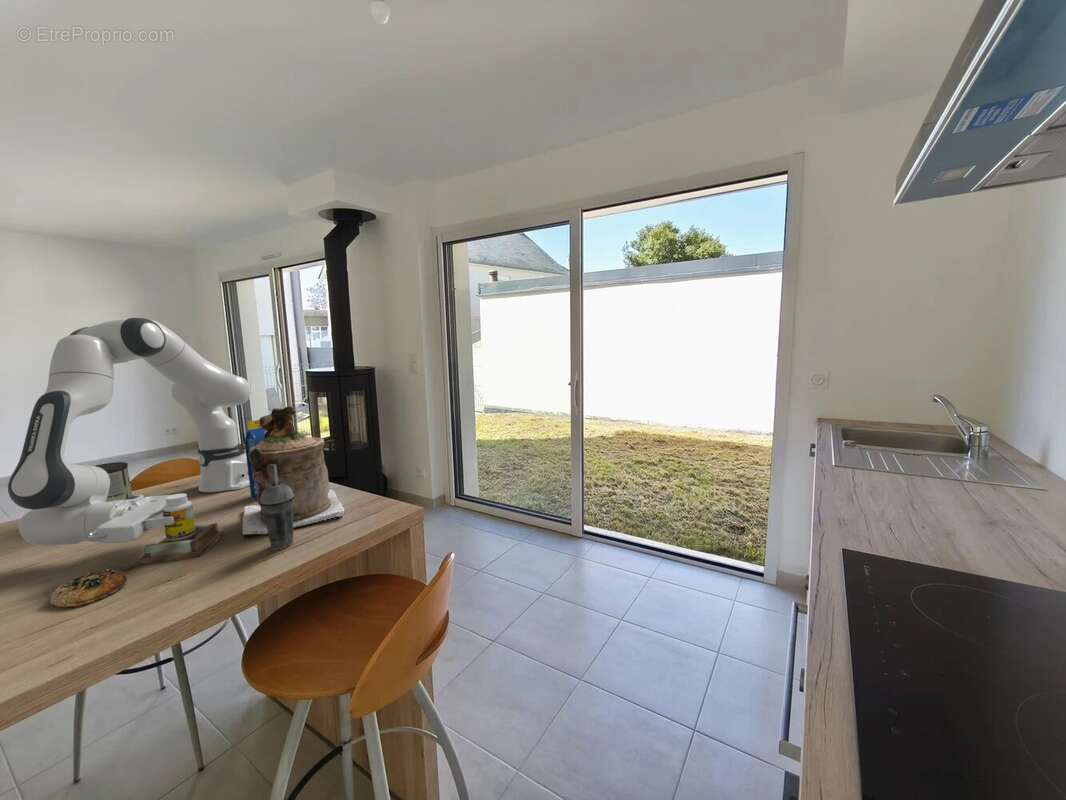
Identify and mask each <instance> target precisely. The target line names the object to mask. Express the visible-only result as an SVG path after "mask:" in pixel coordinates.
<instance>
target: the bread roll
mask: <svg viewBox="0 0 1066 800" xmlns="http://www.w3.org/2000/svg"><path fill="white" fill-rule="evenodd" d="M127 579H128V578H127V575H126V574H125V573H124V571H122V570H120V569H111V568H108V569H105V570H96V571H95V572H93V571H91V572H87V573H86V574H82V575H77V576H75V577H74V578H72V579H71V580H70V581H68V582H66V583H65V582H64V583H63V584H62V585H60V586H58V587H57V588H56V589H55V590H54V591H53V593H52V594H51V596H50V600H49V603H50V604H51V605H52V606H54V605H55V607H56V608H61V607H62V608H68V607H73V608H74V607H75V608H76V607H83V606H86V604H87V605H89V604H93V603H95V601H96V602H97V601H100V599H101V600H103V599H106V598H107V597H109V596H110V595H112V594H115V593H116V592H118V591H120V590H121V589H122V588H123V587H124V586H125V585H126V583H127ZM92 602H93V603H92ZM82 605H83V606H82Z"/></svg>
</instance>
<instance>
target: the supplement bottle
mask: <svg viewBox="0 0 1066 800" xmlns="http://www.w3.org/2000/svg"><path fill="white" fill-rule="evenodd" d="M170 495H171V496H168V497H166V505H165V506H164V507H163V509H162V510H163V517H166V516H168V515H175V516H176V522H175V523H173V524H172V525H164V532H165V538H166V539H167V540H170V541H177V540H182V539H186V538H189V537H191V536H192V535H194V534H195V526H196V524H195V516H194V514H195V513H194V506H193V502H192V501H191V500H188V495H187V493H176V494H175V493H174V494H170Z"/></svg>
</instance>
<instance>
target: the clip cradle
mask: <svg viewBox="0 0 1066 800" xmlns="http://www.w3.org/2000/svg"><path fill="white" fill-rule="evenodd" d="M223 533H224V530H219V527H218V523H217V522H215V523H208V524H207V523H206V524H199V525H196V524H195V534H194V535H192V536H191V537H189V538H186V539H182V540H177V541H170V540H167V539H166V537H164V538H163V539H162V540H160V541H159V542H158V543H153V544H150V543H149V544H145V545H144V546H143V547H142V548H143V552H144V553H143V554H144V555H143V556H141V558H139V559H138V564H139V563H143V564H148V563H147V562H151V563H158V561H160V562H166V561H165V560H168V561H174V559H176V560H182V559H183V558H185V559H192V558H191V557H193V558H198V557H197V556H200V557H201V556H203V555H204V554H205V553H206V550H207V549H208V548H209V547H210V546H211V545H212V544H213V543H214V542H215V541H216V540H217V539H218V538H219V537H220V536H222V535H223ZM224 534H225V533H224ZM223 536H224V535H223ZM223 536H222V537H223ZM219 539H220V538H219ZM219 539H218V540H219ZM218 540H217V541H218ZM217 541H216V542H217ZM216 542H215V543H216ZM215 543H214V544H215ZM214 544H213V545H214ZM213 545H212V546H213ZM212 546H211V547H212ZM211 547H210V548H211ZM210 548H209V549H210ZM209 549H208V550H209ZM208 550H207V551H208ZM183 560H184V559H183Z"/></svg>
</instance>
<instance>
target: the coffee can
mask: <svg viewBox="0 0 1066 800" xmlns="http://www.w3.org/2000/svg"><path fill="white" fill-rule="evenodd" d="M128 465H129V463H128V462H124V461H123V462H120V461H118V462H117V461H116V462H115V461H114V462H107V463H100V464H96V465H94V466H97V467H100V468H102V469H104V470H105V471H106V472H107V473H108V474H109V476H110V479H111V486H110V491H109V495H108V498H107V501H106V502H111V501H115V500H123V499H126V498H129V497H132V496H133V492H132V487H131V486H132V485H131V480H130V474H129V473H130V472H129V469H128Z"/></svg>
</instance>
